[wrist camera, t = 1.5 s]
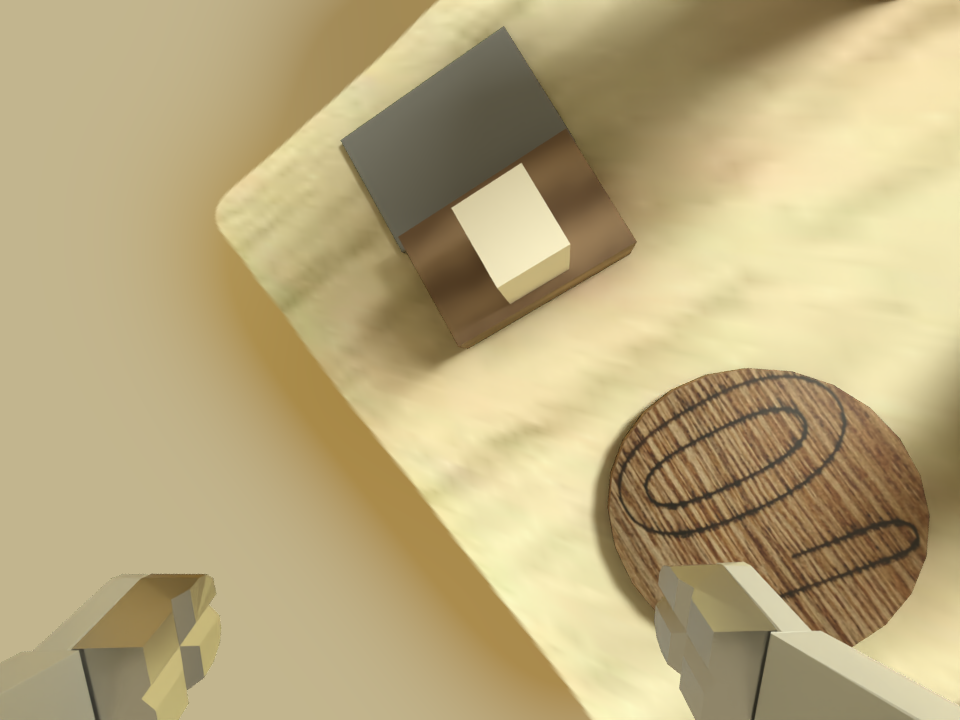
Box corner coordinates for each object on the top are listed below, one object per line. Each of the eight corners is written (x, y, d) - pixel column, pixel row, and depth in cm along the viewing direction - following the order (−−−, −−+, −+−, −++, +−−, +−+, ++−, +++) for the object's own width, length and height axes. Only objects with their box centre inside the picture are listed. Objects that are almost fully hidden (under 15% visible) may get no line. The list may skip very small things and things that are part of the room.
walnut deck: (411, 248, 47) (397, 236, 43) (565, 149, 44) (566, 128, 40) (467, 348, 45) (458, 346, 42) (630, 253, 43) (636, 241, 39)
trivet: (979, 565, 37) (1001, 575, 36) (707, 697, 41) (714, 713, 39) (794, 314, 40) (805, 312, 39) (556, 458, 44) (555, 462, 42)
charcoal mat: (343, 143, 49) (340, 140, 48) (504, 30, 46) (503, 26, 45) (403, 253, 47) (401, 251, 46) (575, 144, 44) (575, 140, 43)
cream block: (472, 238, 42) (451, 207, 34) (529, 203, 41) (521, 162, 33) (510, 304, 41) (497, 288, 33) (569, 269, 40) (570, 244, 32)
